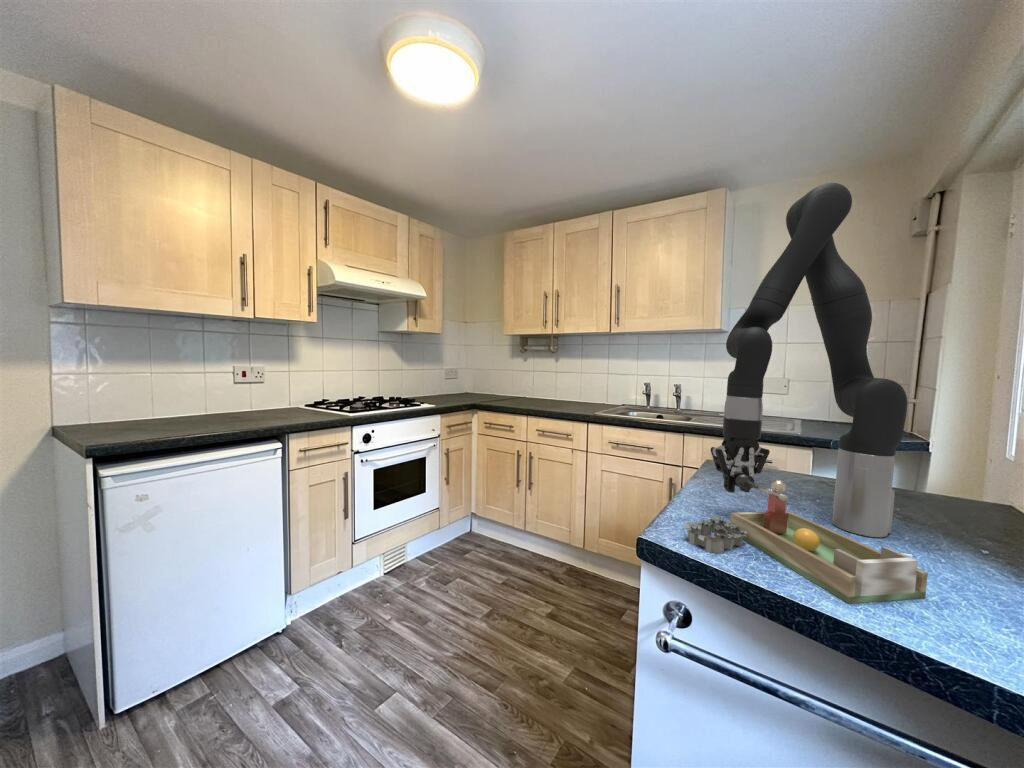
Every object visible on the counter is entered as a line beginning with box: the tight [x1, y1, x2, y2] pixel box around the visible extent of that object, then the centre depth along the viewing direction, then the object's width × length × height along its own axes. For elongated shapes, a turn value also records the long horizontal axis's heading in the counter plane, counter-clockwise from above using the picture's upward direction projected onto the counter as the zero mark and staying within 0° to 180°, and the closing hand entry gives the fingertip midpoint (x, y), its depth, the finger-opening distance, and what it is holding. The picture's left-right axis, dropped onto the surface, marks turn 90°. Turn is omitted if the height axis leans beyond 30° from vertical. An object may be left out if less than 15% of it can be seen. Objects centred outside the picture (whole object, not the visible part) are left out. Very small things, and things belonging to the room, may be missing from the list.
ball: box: [793, 528, 820, 551], centre depth 73 cm, size 4×4×4 cm
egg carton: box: [684, 515, 747, 554], centre depth 78 cm, size 11×8×4 cm
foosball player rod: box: [722, 470, 790, 534], centre depth 86 cm, size 4×16×11 cm, turn 9°
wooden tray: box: [729, 510, 929, 604], centre depth 72 cm, size 14×25×6 cm, turn 9°
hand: (737, 491), depth 91 cm, fingers closed on foosball player rod, 3 cm apart
